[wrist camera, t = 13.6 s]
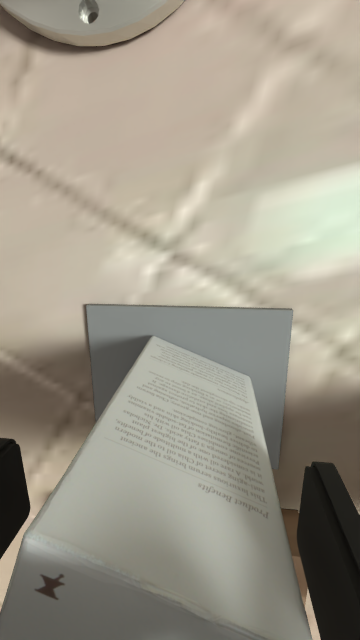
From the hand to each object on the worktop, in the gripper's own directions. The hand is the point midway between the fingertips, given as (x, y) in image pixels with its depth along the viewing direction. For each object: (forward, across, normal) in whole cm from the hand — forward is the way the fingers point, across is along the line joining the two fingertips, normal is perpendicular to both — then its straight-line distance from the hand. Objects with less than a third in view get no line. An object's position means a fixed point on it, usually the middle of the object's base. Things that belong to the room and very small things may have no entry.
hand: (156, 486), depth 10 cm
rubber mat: (+8, 0, +1) cm, 8 cm away
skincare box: (+8, 0, +1) cm, 8 cm away
